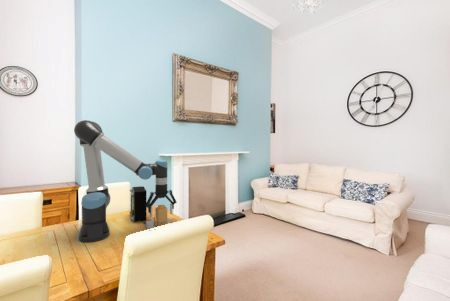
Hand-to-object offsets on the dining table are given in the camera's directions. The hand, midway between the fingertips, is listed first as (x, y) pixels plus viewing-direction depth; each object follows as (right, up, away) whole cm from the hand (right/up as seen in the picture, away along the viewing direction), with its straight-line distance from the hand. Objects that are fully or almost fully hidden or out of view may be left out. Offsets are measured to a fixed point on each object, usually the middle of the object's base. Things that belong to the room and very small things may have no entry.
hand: (161, 215), depth 153 cm
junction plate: (0, -4, -5) cm, 6 cm away
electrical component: (-18, -4, +7) cm, 20 cm away
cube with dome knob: (0, -3, 0) cm, 3 cm away
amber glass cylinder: (-1, -4, -9) cm, 10 cm away
